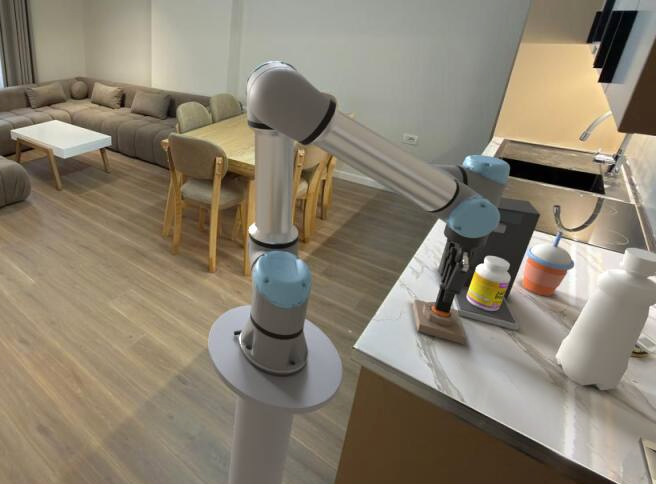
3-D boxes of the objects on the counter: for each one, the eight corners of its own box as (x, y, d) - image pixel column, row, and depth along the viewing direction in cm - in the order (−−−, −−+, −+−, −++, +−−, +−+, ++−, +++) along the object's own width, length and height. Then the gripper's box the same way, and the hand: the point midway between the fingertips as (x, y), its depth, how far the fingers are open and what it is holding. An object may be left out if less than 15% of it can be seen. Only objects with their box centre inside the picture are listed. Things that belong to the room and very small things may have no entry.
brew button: (431, 318, 95) (433, 312, 95) (429, 308, 98) (430, 303, 98) (449, 323, 94) (451, 317, 93) (446, 313, 97) (448, 307, 96)
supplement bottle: (492, 315, 97) (508, 272, 92) (460, 300, 102) (474, 258, 98) (503, 306, 100) (520, 263, 95) (473, 291, 105) (487, 250, 101)
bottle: (544, 352, 88) (597, 237, 78) (600, 366, 85) (662, 247, 74) (564, 384, 81) (625, 262, 70) (626, 401, 77) (700, 274, 67)
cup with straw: (530, 276, 114) (552, 221, 107) (568, 296, 105) (595, 238, 99) (506, 281, 112) (527, 226, 105) (544, 302, 103) (570, 244, 97)
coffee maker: (451, 313, 100) (481, 224, 91) (437, 270, 117) (461, 191, 108) (522, 331, 94) (562, 238, 85) (497, 283, 111) (528, 201, 102)
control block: (417, 331, 94) (421, 318, 93) (412, 305, 103) (416, 293, 101) (463, 344, 91) (468, 331, 89) (454, 316, 99) (458, 303, 98)
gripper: (498, 242, 80) (467, 332, 88) (481, 214, 91) (455, 297, 99) (453, 234, 83) (427, 322, 91) (442, 208, 94) (419, 289, 102)
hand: (441, 309), depth 95 cm, fingers closed
